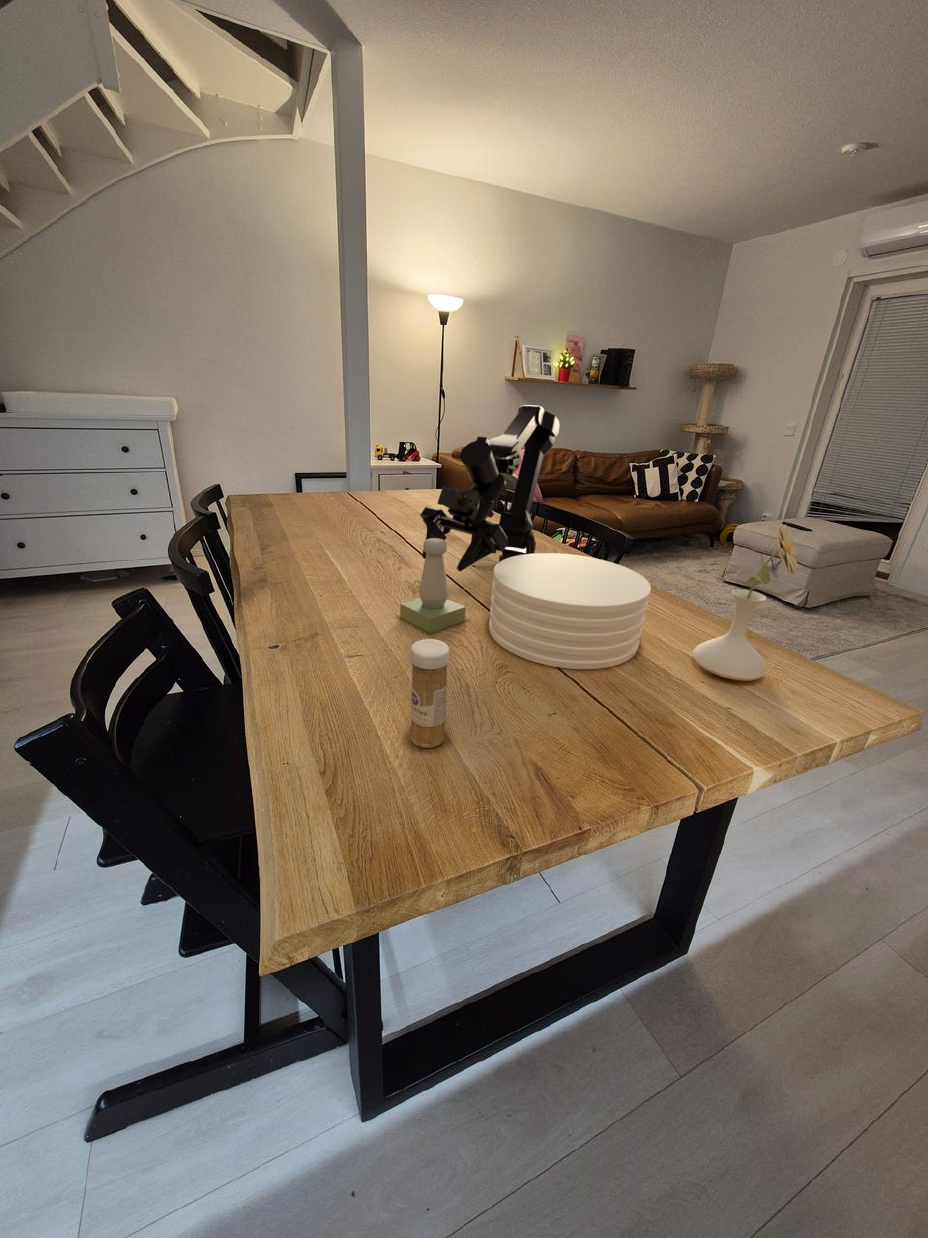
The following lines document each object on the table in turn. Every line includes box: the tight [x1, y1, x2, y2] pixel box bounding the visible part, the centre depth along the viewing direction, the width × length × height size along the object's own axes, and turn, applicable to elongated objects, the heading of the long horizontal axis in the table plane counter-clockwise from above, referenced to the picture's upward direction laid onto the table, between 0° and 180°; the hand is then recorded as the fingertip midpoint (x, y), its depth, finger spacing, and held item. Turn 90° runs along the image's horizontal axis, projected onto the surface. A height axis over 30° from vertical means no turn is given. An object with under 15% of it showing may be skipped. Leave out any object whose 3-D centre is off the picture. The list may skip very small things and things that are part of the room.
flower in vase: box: [692, 523, 799, 681], centre depth 81 cm, size 13×11×25 cm
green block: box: [399, 597, 467, 634], centre depth 98 cm, size 9×9×3 cm
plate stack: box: [488, 552, 652, 670], centre depth 93 cm, size 28×28×12 cm
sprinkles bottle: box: [409, 638, 450, 749], centre depth 62 cm, size 5×5×14 cm
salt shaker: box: [418, 538, 450, 609], centre depth 95 cm, size 6×6×13 cm
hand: (440, 563), depth 95 cm, fingers open, 9 cm apart
